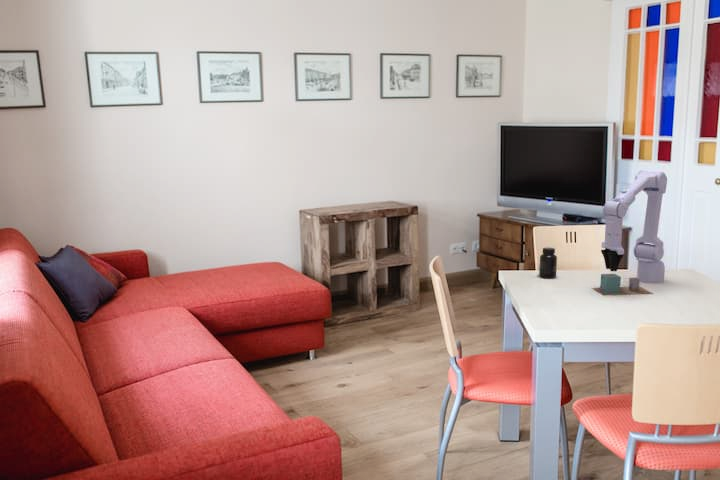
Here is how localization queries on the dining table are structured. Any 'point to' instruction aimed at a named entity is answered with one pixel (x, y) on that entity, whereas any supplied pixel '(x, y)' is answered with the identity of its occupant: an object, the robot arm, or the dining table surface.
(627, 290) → the base board
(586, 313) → the dining table surface
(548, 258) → the supplement bottle
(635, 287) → the steel post
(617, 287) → the teal foam cube
